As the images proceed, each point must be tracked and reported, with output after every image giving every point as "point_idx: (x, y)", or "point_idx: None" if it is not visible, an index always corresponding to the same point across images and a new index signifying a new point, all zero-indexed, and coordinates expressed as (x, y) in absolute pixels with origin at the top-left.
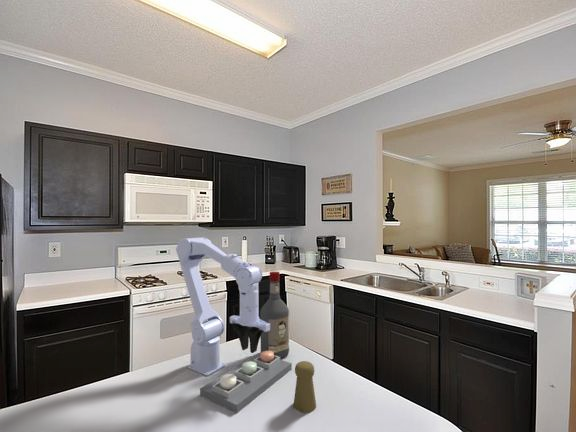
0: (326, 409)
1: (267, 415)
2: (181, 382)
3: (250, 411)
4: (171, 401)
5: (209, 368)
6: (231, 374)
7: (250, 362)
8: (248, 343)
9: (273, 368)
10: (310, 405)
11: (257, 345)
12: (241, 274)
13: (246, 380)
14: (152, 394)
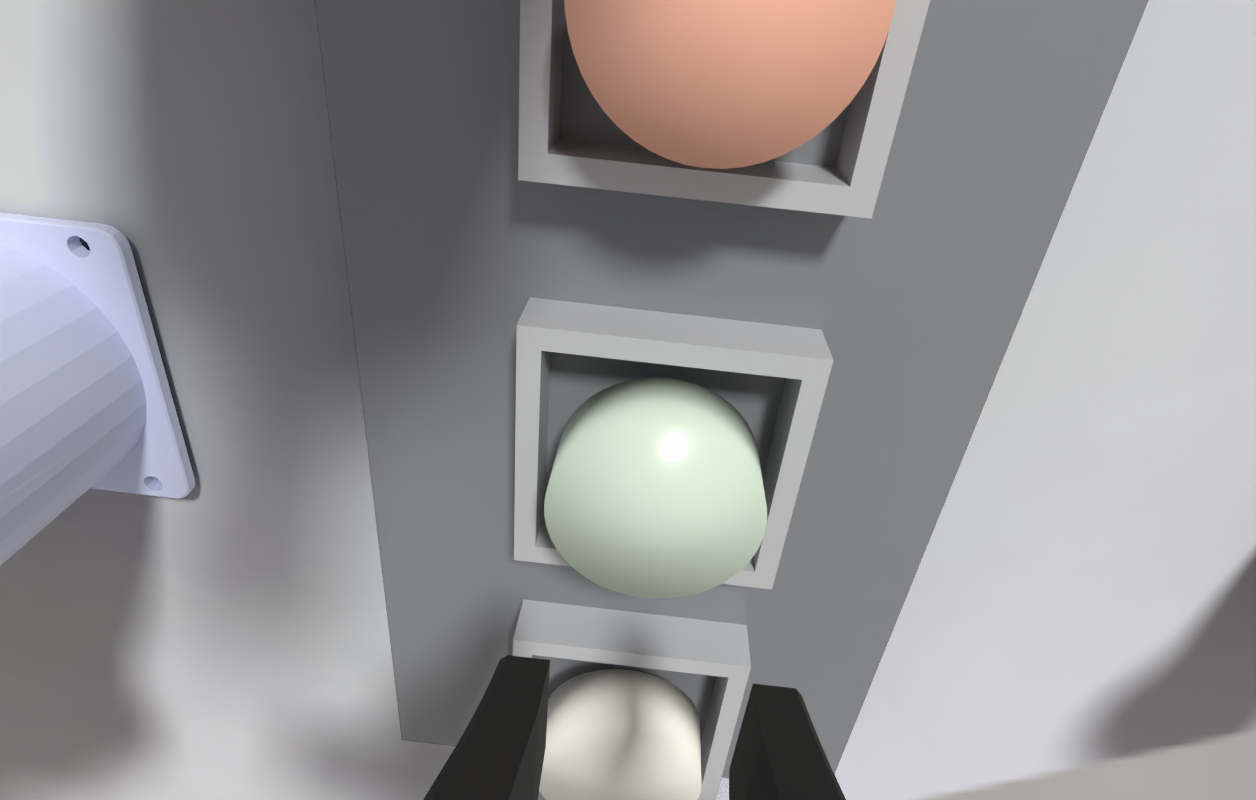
0: None
1: (1058, 692)
2: (124, 623)
3: (906, 697)
4: (317, 770)
5: (115, 464)
6: (596, 734)
7: (623, 457)
8: (532, 734)
9: (919, 142)
10: None
11: (838, 795)
12: None
13: None
14: (138, 762)
